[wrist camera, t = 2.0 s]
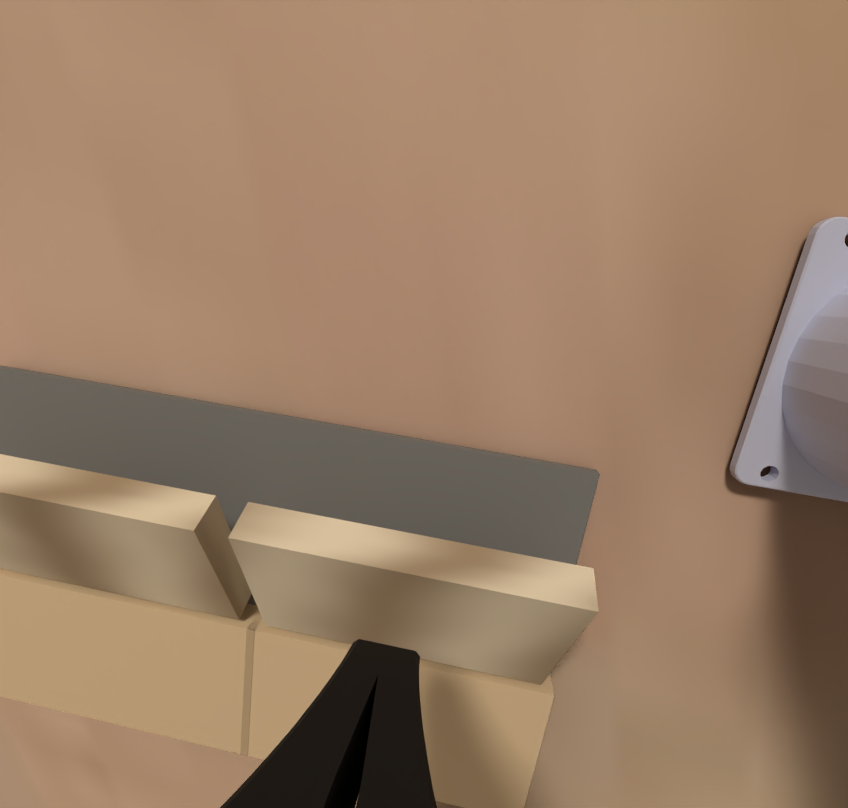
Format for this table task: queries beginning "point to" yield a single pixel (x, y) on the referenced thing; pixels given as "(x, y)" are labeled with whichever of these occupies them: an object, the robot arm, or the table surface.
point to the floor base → (249, 637)
